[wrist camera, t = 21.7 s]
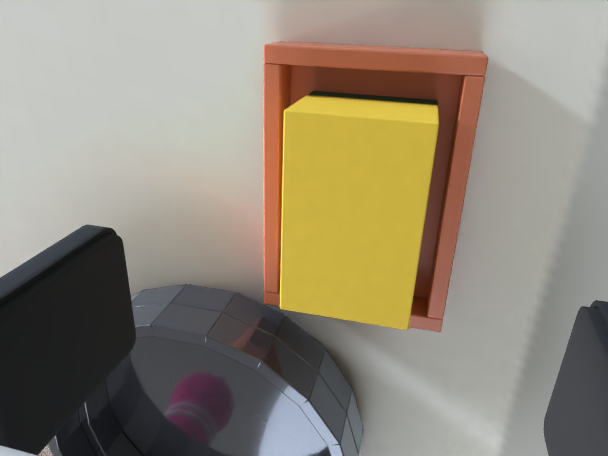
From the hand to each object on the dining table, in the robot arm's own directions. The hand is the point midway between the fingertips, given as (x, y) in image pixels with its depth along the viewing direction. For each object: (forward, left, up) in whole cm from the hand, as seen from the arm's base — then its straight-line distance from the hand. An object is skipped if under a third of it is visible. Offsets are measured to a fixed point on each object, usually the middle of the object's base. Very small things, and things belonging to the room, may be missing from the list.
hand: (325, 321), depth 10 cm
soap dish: (+1, 0, -10) cm, 10 cm away
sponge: (+1, 0, -10) cm, 10 cm away
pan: (+14, +7, -10) cm, 19 cm away
